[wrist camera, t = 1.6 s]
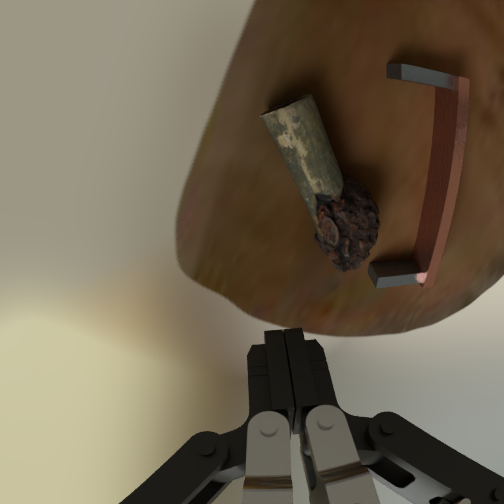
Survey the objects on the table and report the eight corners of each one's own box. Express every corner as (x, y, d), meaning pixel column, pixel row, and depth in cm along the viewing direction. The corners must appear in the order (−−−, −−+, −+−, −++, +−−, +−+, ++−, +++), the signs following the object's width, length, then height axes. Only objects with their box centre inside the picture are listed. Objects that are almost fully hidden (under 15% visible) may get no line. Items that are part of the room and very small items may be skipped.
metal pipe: (257, 111, 26) (262, 118, 21) (324, 85, 25) (343, 86, 20) (322, 259, 34) (335, 290, 30) (375, 236, 33) (396, 264, 28)
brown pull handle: (446, 76, 23) (469, 79, 19) (418, 267, 35) (432, 286, 32) (386, 63, 23) (406, 63, 19) (367, 273, 35) (379, 293, 32)
